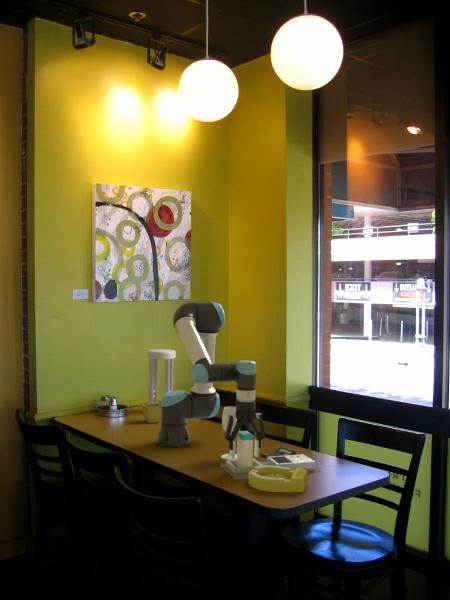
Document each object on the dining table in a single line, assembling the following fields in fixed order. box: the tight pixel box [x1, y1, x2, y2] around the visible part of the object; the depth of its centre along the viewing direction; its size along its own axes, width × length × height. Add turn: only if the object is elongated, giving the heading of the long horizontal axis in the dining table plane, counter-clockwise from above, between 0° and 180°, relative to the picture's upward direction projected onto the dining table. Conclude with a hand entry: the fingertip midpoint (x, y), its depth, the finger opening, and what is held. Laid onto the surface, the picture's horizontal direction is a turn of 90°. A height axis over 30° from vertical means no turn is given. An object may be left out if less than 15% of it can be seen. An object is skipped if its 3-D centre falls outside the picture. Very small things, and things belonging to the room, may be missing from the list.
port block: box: [266, 453, 316, 471], centre depth 247 cm, size 16×11×4 cm
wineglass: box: [220, 406, 237, 460], centre depth 262 cm, size 9×9×21 cm
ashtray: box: [248, 465, 308, 493], centre depth 227 cm, size 16×21×5 cm
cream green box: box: [236, 430, 254, 467], centre depth 246 cm, size 4×7×14 cm, turn 18°
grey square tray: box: [225, 458, 263, 474], centre depth 246 cm, size 12×11×2 cm
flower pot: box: [141, 402, 161, 424], centre depth 326 cm, size 9×9×9 cm
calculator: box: [260, 446, 297, 459], centre depth 264 cm, size 9×12×3 cm
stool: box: [146, 348, 177, 404], centre depth 351 cm, size 16×16×35 cm
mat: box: [219, 460, 323, 480], centre depth 246 cm, size 36×19×1 cm, turn 108°
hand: (244, 457), depth 246 cm, fingers open, 9 cm apart
